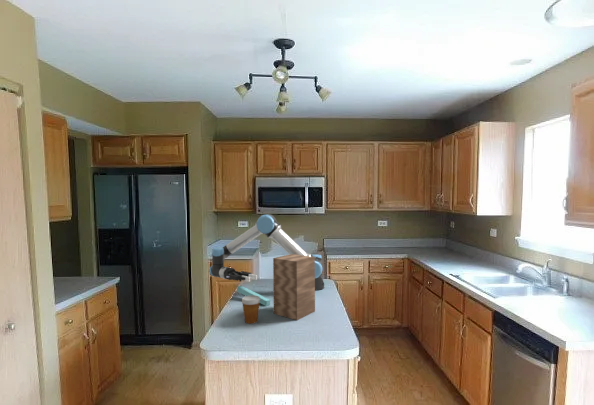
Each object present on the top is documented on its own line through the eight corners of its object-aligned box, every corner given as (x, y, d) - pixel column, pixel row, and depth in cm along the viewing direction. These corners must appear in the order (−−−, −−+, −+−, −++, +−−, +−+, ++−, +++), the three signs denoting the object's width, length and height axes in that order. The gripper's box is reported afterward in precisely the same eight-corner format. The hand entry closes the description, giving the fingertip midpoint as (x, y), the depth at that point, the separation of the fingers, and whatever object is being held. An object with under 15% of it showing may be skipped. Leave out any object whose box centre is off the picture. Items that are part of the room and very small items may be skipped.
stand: (273, 313, 174) (273, 258, 173) (292, 305, 186) (291, 254, 186) (297, 320, 164) (296, 261, 164) (315, 311, 177) (314, 256, 176)
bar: (236, 291, 202) (237, 286, 202) (240, 290, 205) (241, 285, 204) (266, 306, 186) (266, 301, 186) (269, 304, 188) (270, 299, 188)
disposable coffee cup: (245, 326, 156) (245, 301, 156) (239, 320, 165) (239, 296, 165) (263, 322, 161) (263, 298, 161) (256, 316, 169) (256, 294, 169)
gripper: (238, 276, 216) (263, 281, 202) (216, 281, 202) (242, 288, 187) (238, 265, 216) (263, 269, 201) (216, 269, 201) (241, 275, 187)
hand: (253, 278), depth 194 cm, fingers open, 5 cm apart
